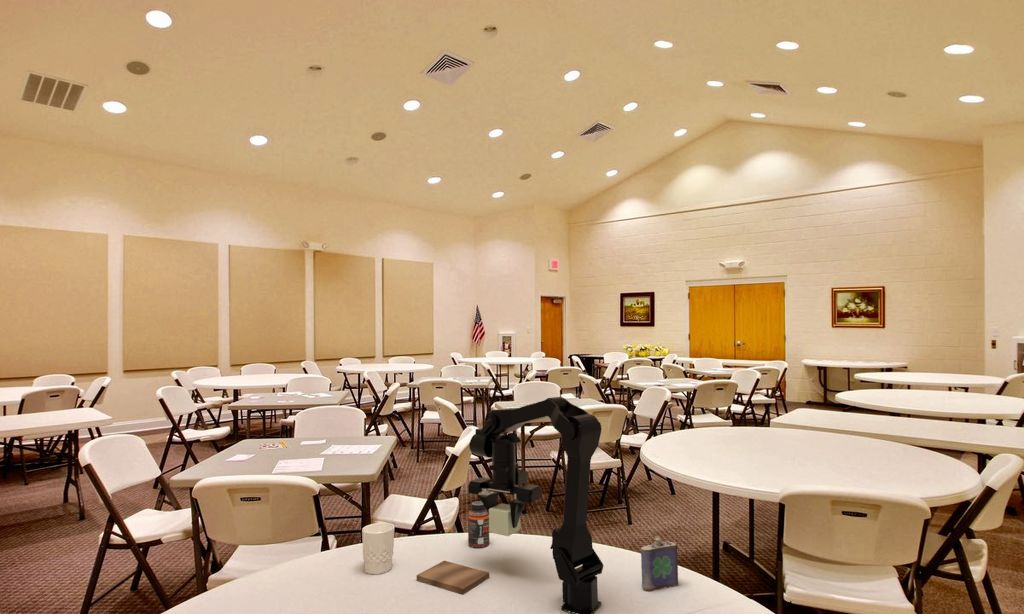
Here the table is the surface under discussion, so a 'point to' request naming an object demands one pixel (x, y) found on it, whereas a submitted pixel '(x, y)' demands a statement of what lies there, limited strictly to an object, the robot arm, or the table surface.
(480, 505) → the supplement bottle
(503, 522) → the sage cube
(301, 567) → the table surface
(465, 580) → the walnut board
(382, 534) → the white cup
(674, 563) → the flask
